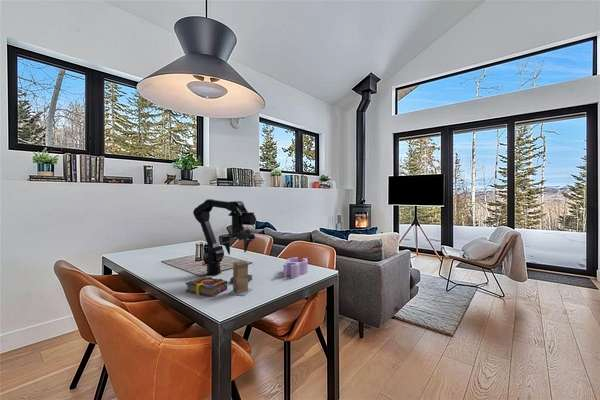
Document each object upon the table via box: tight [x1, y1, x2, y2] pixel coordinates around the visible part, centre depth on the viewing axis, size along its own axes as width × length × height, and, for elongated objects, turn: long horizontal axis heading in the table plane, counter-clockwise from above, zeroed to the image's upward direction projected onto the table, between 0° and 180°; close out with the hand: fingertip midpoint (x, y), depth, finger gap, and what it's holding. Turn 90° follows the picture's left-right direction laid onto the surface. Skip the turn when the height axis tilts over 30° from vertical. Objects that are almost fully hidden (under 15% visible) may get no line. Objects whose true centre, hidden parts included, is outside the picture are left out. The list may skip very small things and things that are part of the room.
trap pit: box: [230, 274, 253, 284], centre depth 140 cm, size 8×8×2 cm
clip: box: [282, 256, 309, 279], centre depth 155 cm, size 20×12×7 cm, turn 159°
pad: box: [227, 287, 253, 297], centre depth 124 cm, size 8×8×1 cm
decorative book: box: [185, 276, 228, 298], centre depth 126 cm, size 11×16×5 cm
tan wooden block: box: [232, 260, 249, 293], centre depth 124 cm, size 5×5×13 cm
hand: (237, 253), depth 146 cm, fingers open, 9 cm apart
